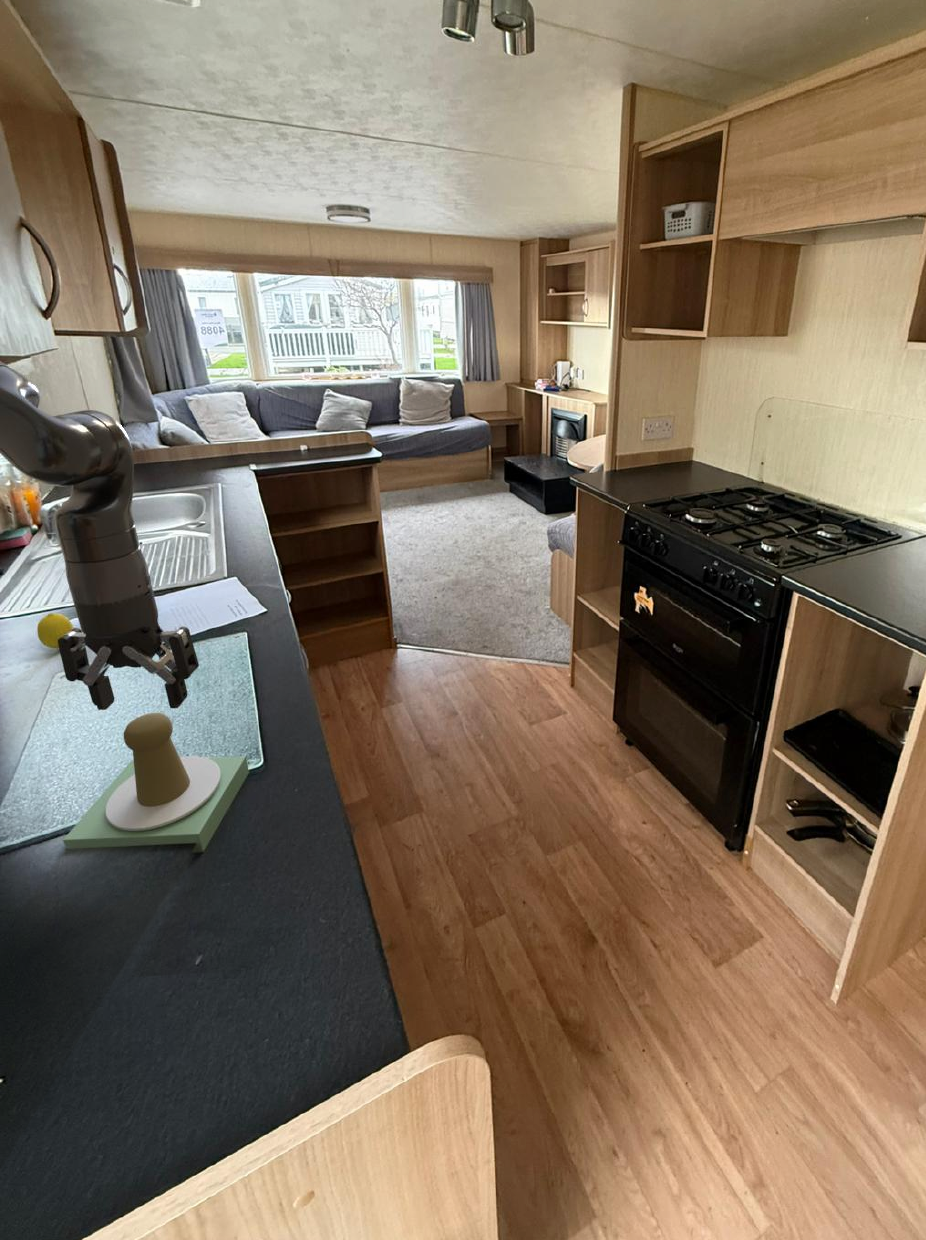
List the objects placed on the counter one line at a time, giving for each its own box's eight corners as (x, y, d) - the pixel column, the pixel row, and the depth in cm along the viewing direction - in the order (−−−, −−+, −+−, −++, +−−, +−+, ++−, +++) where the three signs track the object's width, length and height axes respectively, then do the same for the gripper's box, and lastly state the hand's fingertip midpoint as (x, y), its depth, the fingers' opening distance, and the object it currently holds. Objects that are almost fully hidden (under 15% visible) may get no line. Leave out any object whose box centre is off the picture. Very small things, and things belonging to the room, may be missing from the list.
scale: (66, 858, 73) (58, 835, 71) (134, 777, 86) (127, 755, 84) (203, 852, 74) (197, 829, 72) (249, 772, 87) (245, 751, 85)
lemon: (42, 648, 119) (31, 613, 117) (76, 639, 123) (66, 604, 120) (45, 659, 116) (33, 622, 113) (80, 649, 119) (69, 614, 116)
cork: (128, 810, 75) (107, 738, 71) (148, 776, 81) (129, 708, 77) (180, 803, 76) (162, 732, 72) (196, 770, 82) (180, 703, 78)
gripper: (22, 603, 65) (62, 726, 70) (158, 601, 65) (186, 722, 71) (70, 575, 72) (102, 689, 77) (192, 574, 73) (215, 686, 78)
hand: (142, 705), depth 74 cm, fingers open, 8 cm apart
